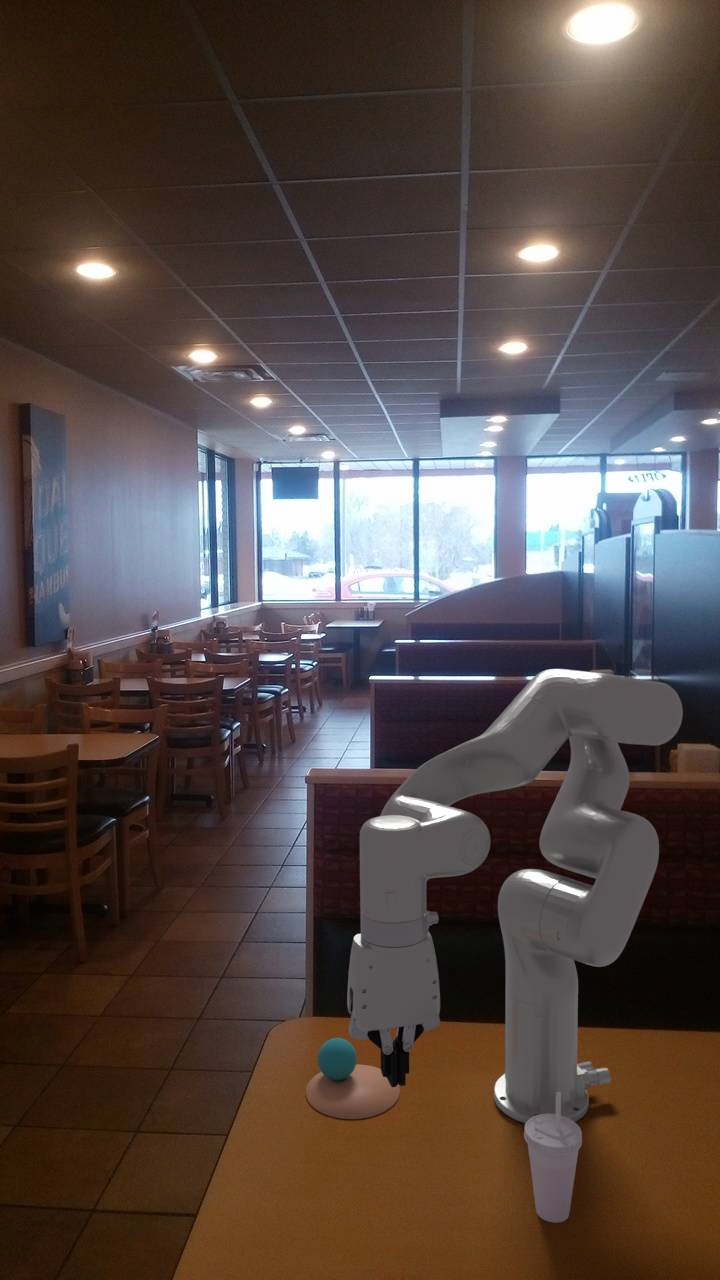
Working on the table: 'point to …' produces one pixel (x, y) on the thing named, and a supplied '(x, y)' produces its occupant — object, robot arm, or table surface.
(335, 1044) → the ball
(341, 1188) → the table surface
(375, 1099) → the pink flattened dome
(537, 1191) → the smoothie
